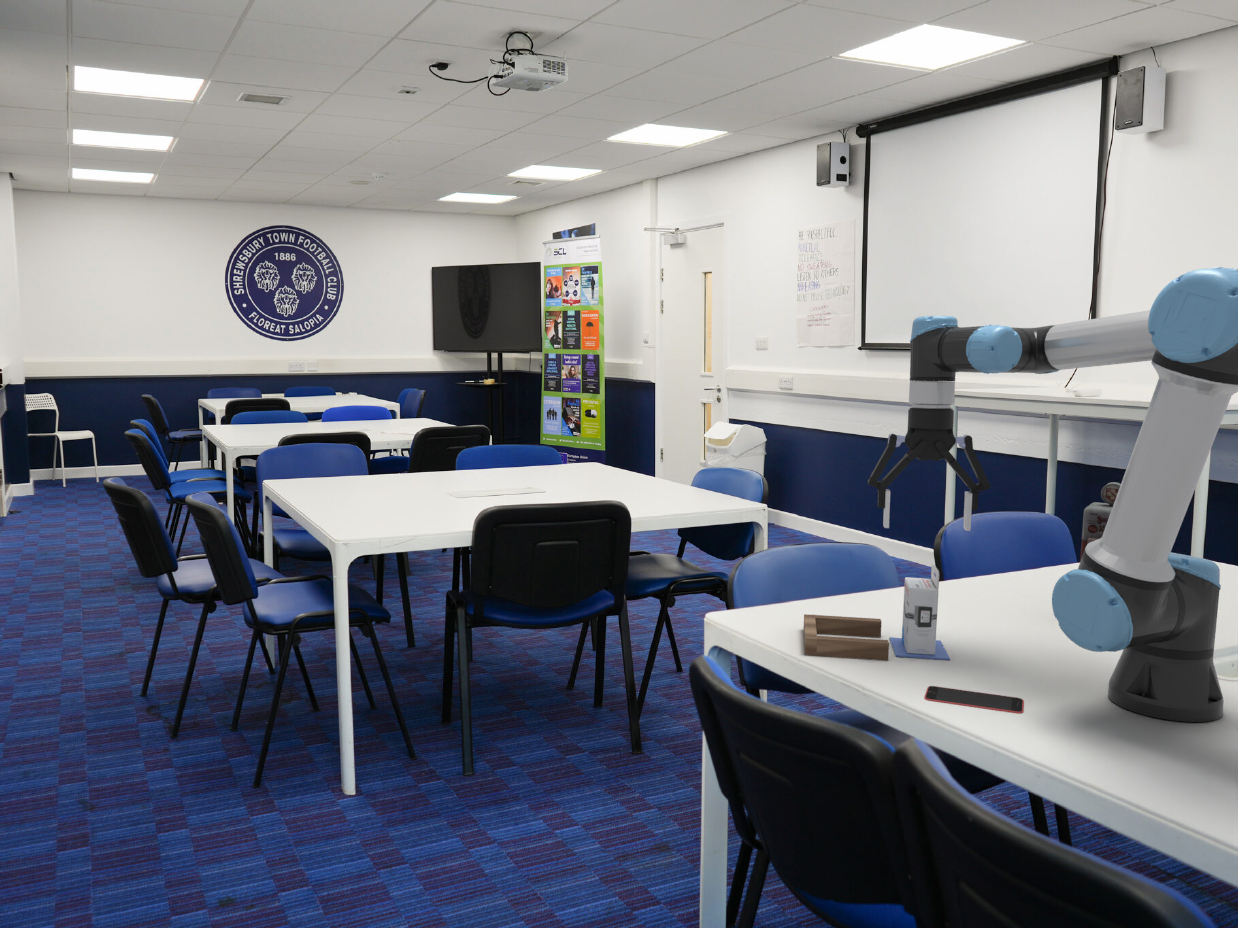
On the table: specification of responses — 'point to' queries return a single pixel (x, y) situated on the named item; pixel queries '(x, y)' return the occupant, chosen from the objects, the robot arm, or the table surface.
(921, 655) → the pad
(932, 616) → the ink box
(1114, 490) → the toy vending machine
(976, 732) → the table surface
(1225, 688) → the table surface
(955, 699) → the smartphone
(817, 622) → the bay
